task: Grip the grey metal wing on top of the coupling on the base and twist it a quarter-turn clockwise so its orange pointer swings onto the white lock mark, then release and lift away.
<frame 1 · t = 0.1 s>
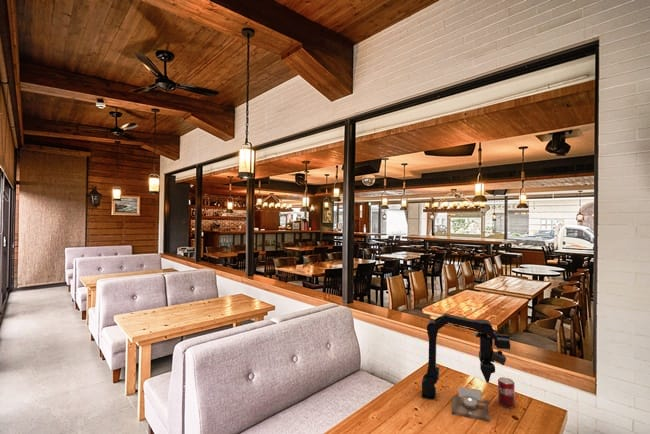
hand: (486, 377, 158), 14 cm above the table, tool pointing down, fingers open, 9 cm apart
post base: (470, 409, 157), on the table
soda can: (506, 404, 160), on the table
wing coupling: (471, 397, 157), point 6 cm above the table, hinge at 0.0°
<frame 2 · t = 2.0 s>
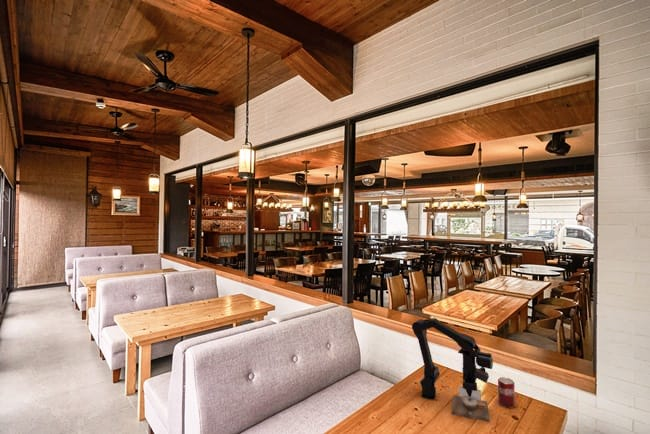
hand: (469, 395, 157), 7 cm above the table, tool pointing down, fingers closed on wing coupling, 2 cm apart
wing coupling: (471, 397, 157), point 6 cm above the table, hinge at 0.0°, touching gripper
everything else where it was.
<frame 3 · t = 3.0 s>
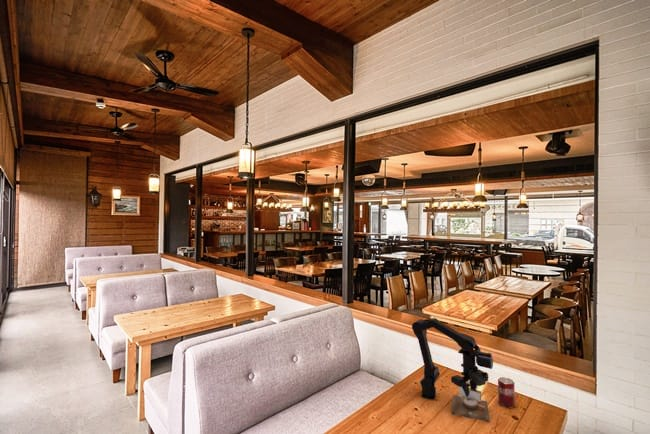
hand: (470, 395, 157), 7 cm above the table, tool pointing down, fingers closed on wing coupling, 3 cm apart
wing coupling: (471, 397, 156), point 6 cm above the table, hinge at -14.6°, touching gripper
everything else where it was.
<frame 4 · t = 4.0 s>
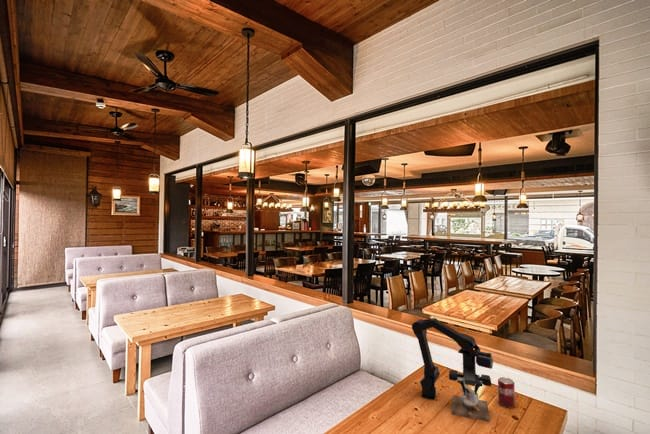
hand: (469, 395, 157), 7 cm above the table, tool pointing down, fingers closed on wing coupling, 4 cm apart
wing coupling: (470, 398, 156), point 6 cm above the table, hinge at -55.1°, touching gripper
everything else where it was.
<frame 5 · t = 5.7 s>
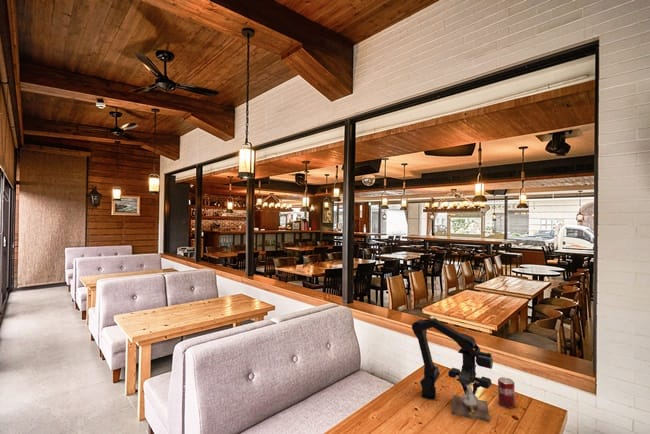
hand: (469, 394, 157), 7 cm above the table, tool pointing down, fingers closed on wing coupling, 3 cm apart
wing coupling: (470, 398, 156), point 6 cm above the table, hinge at -80.9°, touching gripper
everything else where it was.
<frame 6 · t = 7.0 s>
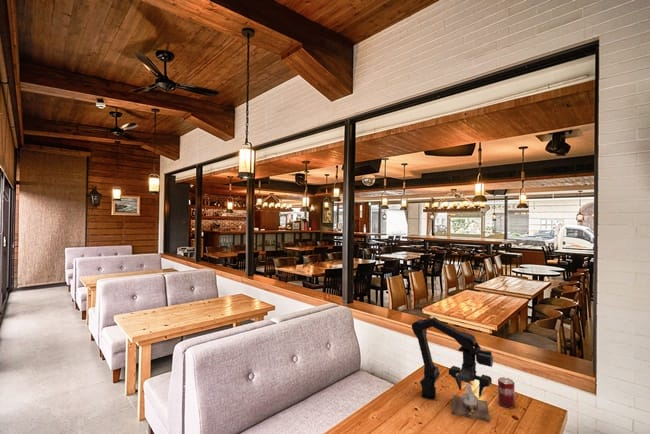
hand: (469, 393, 157), 8 cm above the table, tool pointing down, fingers open, 9 cm apart
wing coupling: (470, 398, 156), point 6 cm above the table, hinge at -81.6°
everything else where it was.
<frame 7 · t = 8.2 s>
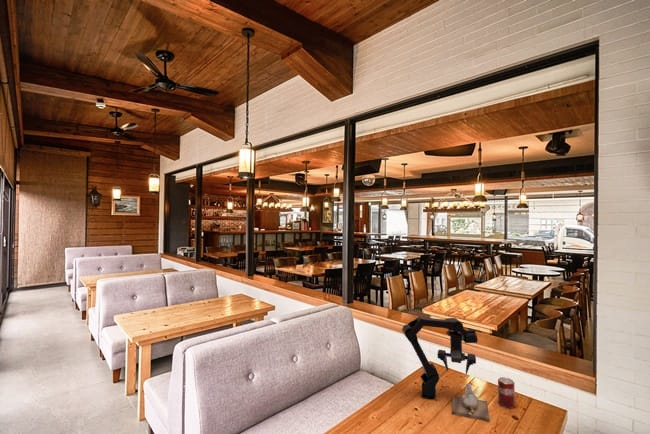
hand: (456, 372, 169), 12 cm above the table, tool pointing down, fingers open, 9 cm apart
nothing on the table moved.
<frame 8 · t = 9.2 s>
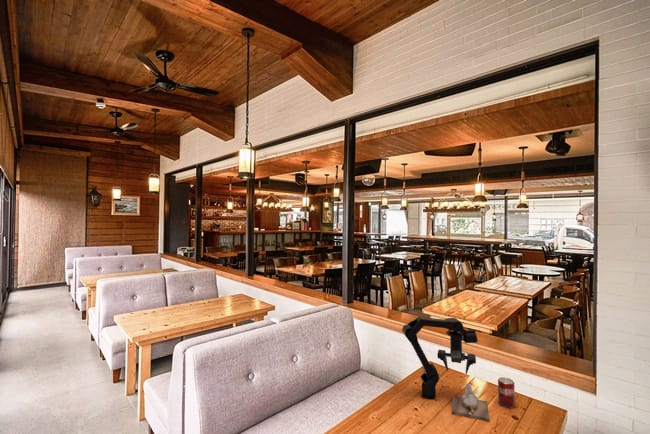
hand: (456, 372, 169), 12 cm above the table, tool pointing down, fingers open, 9 cm apart
nothing on the table moved.
at the end: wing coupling at -82° (first picture: +0°); the gripper is holding nothing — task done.
